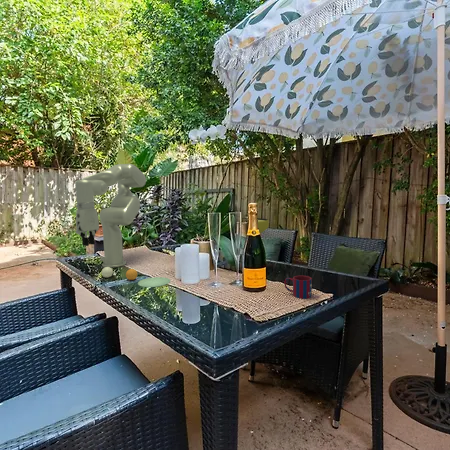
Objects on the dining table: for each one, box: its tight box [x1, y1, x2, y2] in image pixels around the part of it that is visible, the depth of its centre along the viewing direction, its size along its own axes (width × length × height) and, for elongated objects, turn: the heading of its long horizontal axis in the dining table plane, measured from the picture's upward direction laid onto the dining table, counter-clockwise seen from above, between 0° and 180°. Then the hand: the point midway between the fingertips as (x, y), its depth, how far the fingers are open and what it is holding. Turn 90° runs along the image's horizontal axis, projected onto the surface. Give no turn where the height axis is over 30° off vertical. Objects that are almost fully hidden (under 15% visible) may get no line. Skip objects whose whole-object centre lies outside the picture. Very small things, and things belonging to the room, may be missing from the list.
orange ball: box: [125, 268, 138, 281], centre depth 140 cm, size 5×5×5 cm
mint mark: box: [137, 276, 171, 288], centre depth 136 cm, size 14×14×1 cm
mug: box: [283, 275, 313, 300], centre depth 115 cm, size 7×10×7 cm
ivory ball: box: [100, 267, 114, 279], centre depth 145 cm, size 5×5×5 cm
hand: (88, 244), depth 147 cm, fingers open, 3 cm apart
